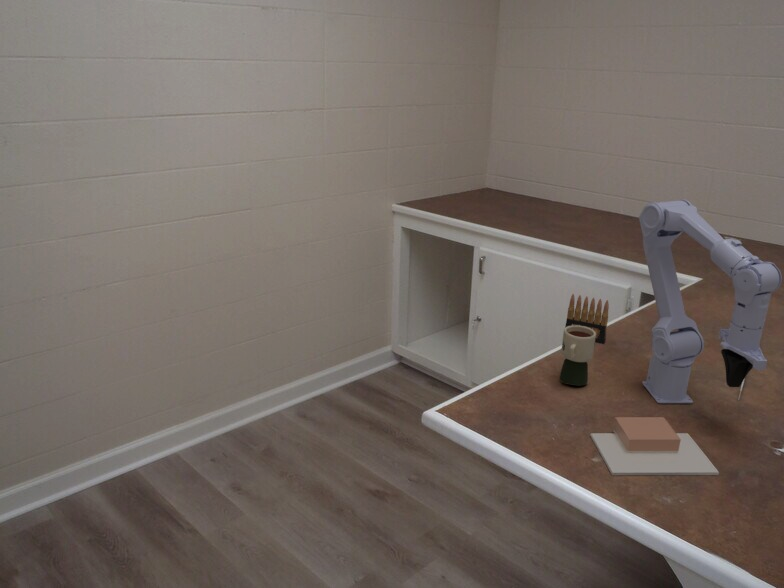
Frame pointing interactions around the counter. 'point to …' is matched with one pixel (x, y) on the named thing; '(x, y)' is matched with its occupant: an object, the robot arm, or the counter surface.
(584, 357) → the character mug
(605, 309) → the ammunition clip
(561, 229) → the counter surface
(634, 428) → the tile
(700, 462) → the board
